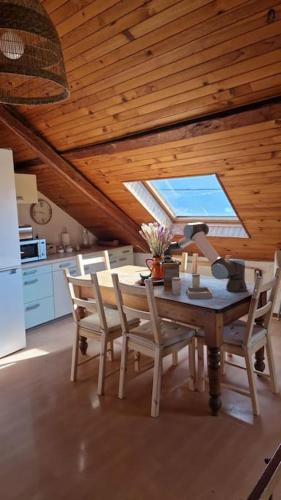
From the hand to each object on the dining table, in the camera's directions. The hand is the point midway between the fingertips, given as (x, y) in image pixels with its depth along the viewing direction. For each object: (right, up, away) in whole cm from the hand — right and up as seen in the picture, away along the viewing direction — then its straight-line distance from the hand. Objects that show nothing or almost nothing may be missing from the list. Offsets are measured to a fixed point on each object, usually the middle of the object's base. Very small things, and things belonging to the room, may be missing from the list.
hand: (169, 265), depth 278 cm
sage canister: (+19, -18, -15) cm, 30 cm away
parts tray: (+19, -20, -27) cm, 39 cm away
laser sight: (-18, -17, +4) cm, 25 cm away
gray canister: (+3, -20, -24) cm, 32 cm away
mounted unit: (+1, -18, -10) cm, 20 cm away
